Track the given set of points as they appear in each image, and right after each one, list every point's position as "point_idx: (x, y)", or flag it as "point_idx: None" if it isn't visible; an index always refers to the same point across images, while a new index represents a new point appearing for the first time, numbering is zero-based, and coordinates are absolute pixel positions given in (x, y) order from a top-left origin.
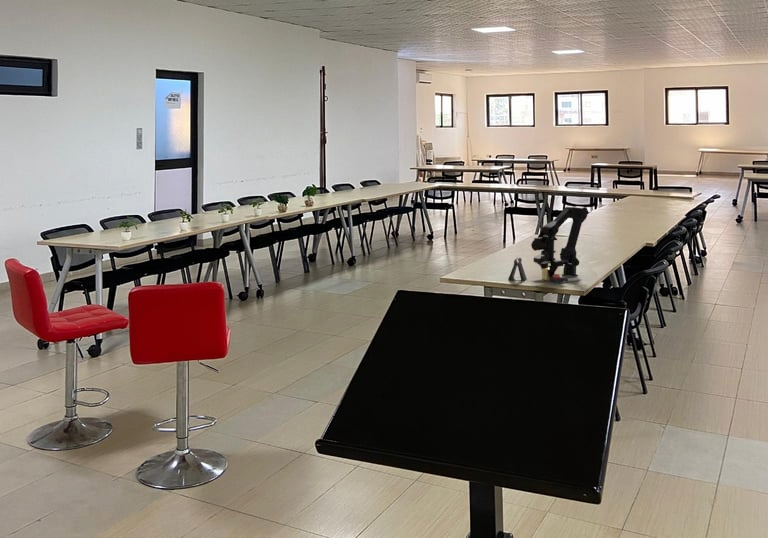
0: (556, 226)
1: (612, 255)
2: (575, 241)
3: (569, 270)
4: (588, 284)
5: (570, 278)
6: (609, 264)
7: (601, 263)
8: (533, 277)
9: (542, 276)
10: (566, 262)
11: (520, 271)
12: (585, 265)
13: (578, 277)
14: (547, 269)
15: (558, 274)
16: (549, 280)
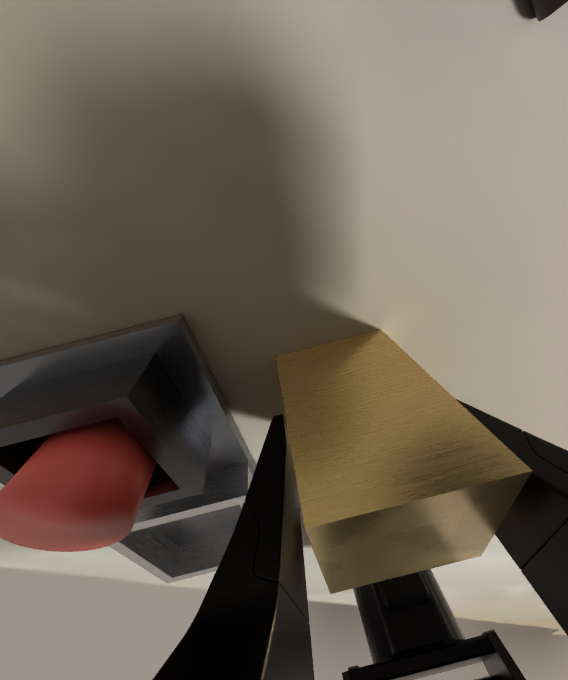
0: None
1: (530, 612)
2: None
3: (367, 585)
4: (29, 566)
5: (115, 546)
6: (452, 610)
7: (481, 601)
8: (524, 264)
9: (390, 351)
10: (482, 659)
11: None
12: (500, 579)
13: (167, 580)
14: (324, 530)
15: (77, 542)
16: (152, 356)
